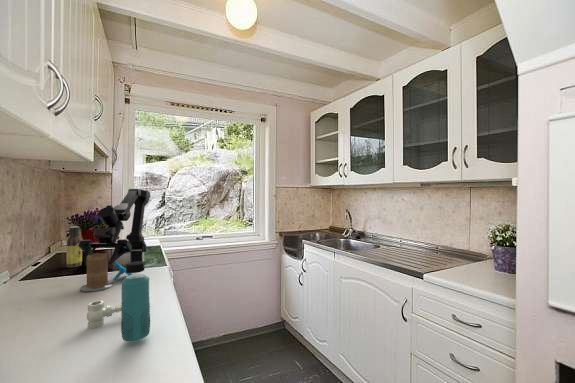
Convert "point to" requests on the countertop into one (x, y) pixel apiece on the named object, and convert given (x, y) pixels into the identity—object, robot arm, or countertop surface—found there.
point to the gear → (121, 270)
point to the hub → (85, 289)
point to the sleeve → (97, 270)
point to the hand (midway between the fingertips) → (97, 264)
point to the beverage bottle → (135, 304)
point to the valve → (99, 313)
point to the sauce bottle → (73, 249)
